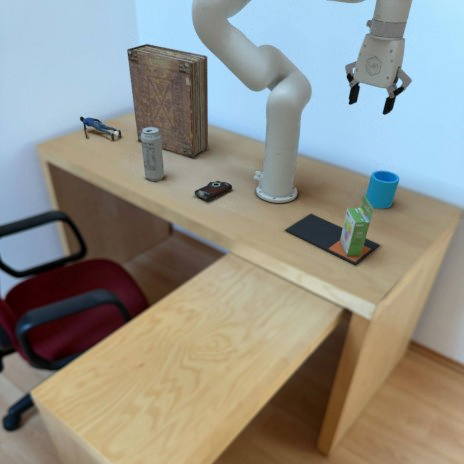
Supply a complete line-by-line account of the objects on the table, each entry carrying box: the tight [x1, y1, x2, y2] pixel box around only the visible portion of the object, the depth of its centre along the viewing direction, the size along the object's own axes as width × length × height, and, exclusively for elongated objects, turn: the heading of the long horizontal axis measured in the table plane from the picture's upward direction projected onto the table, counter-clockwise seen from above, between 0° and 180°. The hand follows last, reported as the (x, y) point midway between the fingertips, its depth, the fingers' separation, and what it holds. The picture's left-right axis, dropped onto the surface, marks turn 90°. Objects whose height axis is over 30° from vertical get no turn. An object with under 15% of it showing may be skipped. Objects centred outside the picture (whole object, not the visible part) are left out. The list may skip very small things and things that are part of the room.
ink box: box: [340, 194, 375, 256], centre depth 109 cm, size 7×4×13 cm, turn 5°
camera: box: [193, 180, 233, 201], centre depth 133 cm, size 6×3×11 cm
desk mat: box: [285, 213, 380, 266], centre depth 118 cm, size 22×12×1 cm, turn 47°
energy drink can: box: [140, 127, 165, 182], centre depth 135 cm, size 6×6×15 cm
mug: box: [365, 169, 401, 210], centre depth 132 cm, size 12×8×8 cm
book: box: [126, 43, 209, 159], centre depth 149 cm, size 25×9×30 cm, turn 57°
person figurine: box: [79, 116, 122, 142], centre depth 163 cm, size 11×4×18 cm
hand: (369, 108), depth 111 cm, fingers open, 9 cm apart
